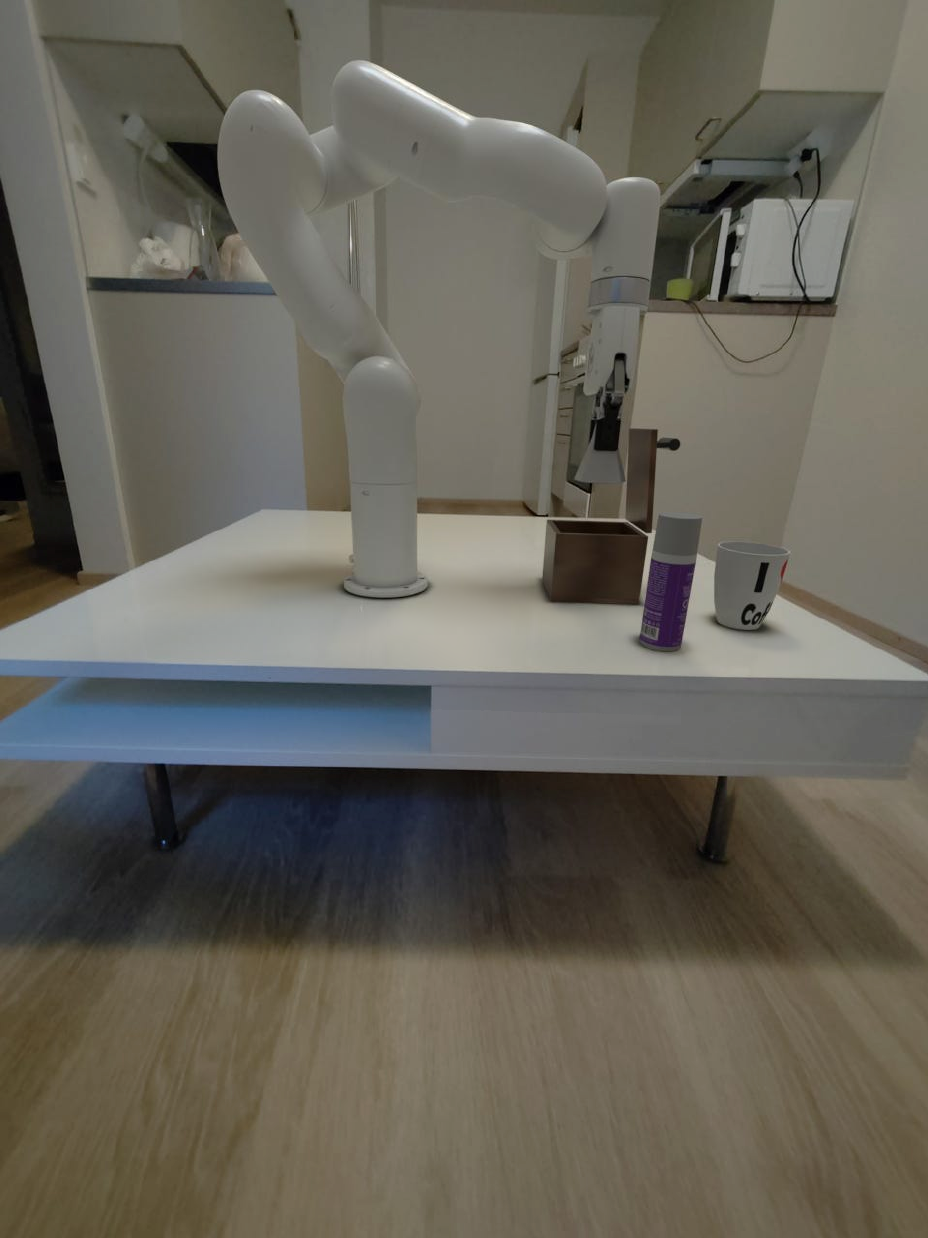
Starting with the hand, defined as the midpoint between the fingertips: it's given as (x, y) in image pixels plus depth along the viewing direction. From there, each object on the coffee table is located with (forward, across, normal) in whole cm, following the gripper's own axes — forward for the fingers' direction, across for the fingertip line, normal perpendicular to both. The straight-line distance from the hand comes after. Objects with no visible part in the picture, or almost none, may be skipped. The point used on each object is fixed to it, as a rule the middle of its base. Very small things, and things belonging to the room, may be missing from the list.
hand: (602, 448), depth 76 cm
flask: (+5, 0, 0) cm, 5 cm away
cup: (+21, +12, +17) cm, 30 cm away
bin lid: (+4, 0, +5) cm, 7 cm away
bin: (+21, 0, 0) cm, 21 cm away
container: (+21, +21, +5) cm, 30 cm away
